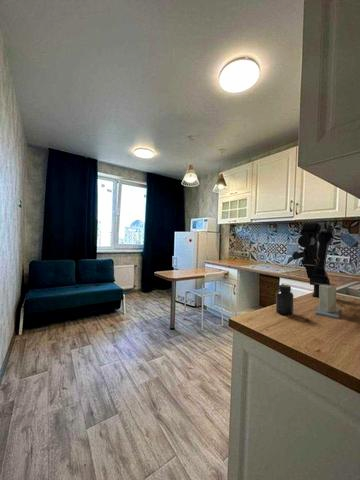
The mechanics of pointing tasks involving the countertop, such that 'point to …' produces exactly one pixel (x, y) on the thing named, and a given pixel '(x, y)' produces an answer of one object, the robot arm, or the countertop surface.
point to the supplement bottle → (284, 300)
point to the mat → (328, 313)
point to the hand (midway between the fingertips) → (310, 277)
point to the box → (327, 298)
